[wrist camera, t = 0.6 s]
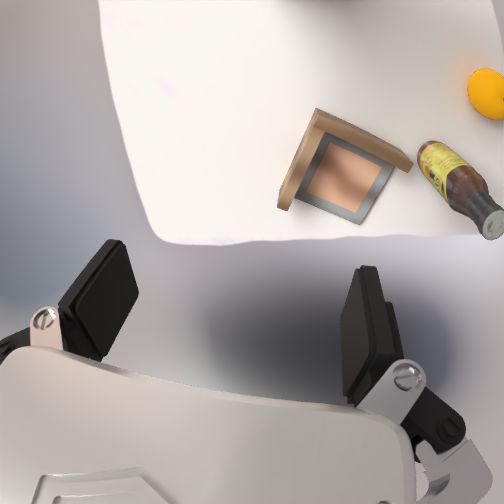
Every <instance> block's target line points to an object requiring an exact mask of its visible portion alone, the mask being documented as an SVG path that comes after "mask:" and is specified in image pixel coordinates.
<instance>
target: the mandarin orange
mask: <svg viewBox="0 0 504 504" xmlns="http://www.w3.org/2000/svg"><path fill="white" fill-rule="evenodd" d="M467 90H468V96H469V99H470V101H471V103H472V105H473V106H474V107H475V109H476V110H477V111H478V112H479V113H481V114H482V115H483V116H485V117H487V118H490V119H493V120H501V119H503V118H504V77H503V76H502V75H501V74H499V73H498V72H496V71H494V70H491V69H479V70H477V71H475V72H474V73H473V74H472V75H471V76H470V79H469V81H468V88H467Z"/></svg>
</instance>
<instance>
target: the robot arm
mask: <svg viewBox="0 0 504 504" xmlns="http://www.w3.org/2000/svg"><path fill="white" fill-rule="evenodd" d="M138 294H139V291H138V287H137V284H136V281H135V277H134V274H133V270H132V267H131V264H130V260H129V256H128V253H127V250H126V246H125V245H124V244H123V243H122V241H120V240H113V239H109V240H107V241H106V242H105V243H104V245H103V246H102V247H101V248H100V249H99V251H98V252H97V253H96V254H95V256H94V257H93V258H92V259H91V260H90V262H89V263H88V264H87V266H86V267H85V268H84V270H83V271H82V272H81V273H80V275H79V276H78V277H77V278H76V280H75V281H74V283H73V284H72V285H71V286H70V288H69V289H68V290H67V292H66V293H65V295H64V296H63V297H62V299H61V300H60V301H59V303H58V305H59V308H58V310H57V309H56V308H54V307H48V306H47V307H43V308H41V309H40V310H38V311H37V312H36V313H35V314H34V315H33V316H32V318H31V321H30V327H29V328H26V329H24V330H21V331H19V332H17V333H15V334H12V335H10V336H8V337H6V338H4V339H2V340H1V341H0V504H477V503H478V502H479V500H480V499H481V498H483V497H484V496H485V495H486V493H487V492H488V491H489V489H490V488H491V485H492V474H491V471H490V469H489V468H488V466H487V464H486V463H485V461H484V460H483V458H482V456H481V455H480V453H479V451H478V450H477V448H476V447H475V445H474V444H473V442H472V440H471V439H469V440H467V439H466V437H465V432H466V426H465V422H464V420H463V418H462V417H461V416H460V415H459V414H458V413H457V412H456V411H455V410H453V409H452V408H451V407H450V406H449V405H447V404H446V403H445V402H444V401H442V400H441V399H440V398H439V397H438V396H436V395H435V394H434V393H433V392H432V391H430V390H429V389H428V388H427V387H425V384H426V376H425V373H424V371H423V369H422V368H421V367H420V366H419V365H418V364H417V363H415V362H413V361H411V360H407V359H404V355H403V350H402V345H401V340H400V335H399V331H398V326H397V321H396V317H395V313H394V309H393V305H392V303H391V302H385V300H384V296H383V292H382V288H381V284H380V279H379V275H378V271H377V268H376V267H374V266H364V265H362V266H361V267H360V269H356V270H355V272H354V276H353V279H352V283H351V286H350V289H349V292H348V296H347V299H346V302H345V305H344V308H343V311H342V314H341V318H340V332H341V349H342V350H341V351H342V376H343V377H342V378H343V396H347V403H348V404H354V407H348V406H340V405H330V404H320V403H308V402H297V401H288V400H279V399H270V398H262V397H254V396H247V395H240V394H234V393H227V392H222V391H216V390H210V389H204V388H200V387H195V386H189V385H185V384H180V383H176V382H171V381H167V380H163V379H159V378H154V377H151V376H147V375H143V374H139V373H135V372H132V371H128V370H124V369H121V368H117V367H114V366H110V365H107V364H104V363H101V361H102V359H103V357H105V356H106V355H107V354H108V352H109V350H110V348H111V346H112V344H113V343H114V341H115V338H116V337H117V335H118V333H119V331H120V329H121V327H122V325H123V324H124V322H125V320H126V318H127V316H128V314H129V313H130V311H131V309H132V307H133V305H134V303H135V302H136V300H137V298H138ZM89 358H90V359H89ZM91 359H92V360H91ZM415 461H416V462H418V463H422V465H423V467H424V468H425V470H426V471H424V473H425V475H426V476H427V478H428V481H429V489H428V491H427V493H426V494H425V495H424V496H423V497H422V498H421V499H420V500H419V501H417V502H416V470H415ZM378 502H380V503H378Z"/></svg>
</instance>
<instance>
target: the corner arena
mask: <svg viewBox="0 0 504 504" xmlns="http://www.w3.org/2000/svg"><path fill="white" fill-rule="evenodd" d="M412 165H413V163H412V162H411V161H410V160H409V158H408V157H407V156H406V155H405V154H404V153H403V152H402V151H401V150H400V149H398V148H396V147H394V146H393V145H391V144H389V143H387V142H385V141H383V140H382V139H380V138H378V137H376V136H374V135H372V134H370V133H368V132H366V131H364V130H362V129H360V128H358V127H356V126H354V125H352V124H350V123H348V122H346V121H344V120H342V119H340V118H337V117H335V116H333V115H331V114H329V113H326V112H324V111H322V110H319V109H317V108H316V109H315V111H314V114H313V116H312V118H311V120H310V123H309V125H308V127H307V129H306V132H305V134H304V136H303V138H302V141H301V143H300V145H299V147H298V150H297V152H296V154H295V157H294V159H293V161H292V163H291V166H290V168H289V170H288V172H287V175H286V177H285V179H284V181H283V184H282V186H281V188H280V192H279V198H278V204H277V208H280V209H282V210H285V211H288V209H289V207H290V205H291V203H292V200H293V198H296V199H299V200H301V201H304V202H306V203H308V204H311V205H313V206H316V207H318V208H321V209H323V210H325V211H328V212H330V213H332V214H335V215H337V216H340V217H342V218H344V219H346V220H349V221H351V222H353V223H356V224H358V225H360V223H361V222H362V220H363V219H364V217H365V215H366V214H367V212H368V210H369V209H370V207H371V206H372V204H373V202H374V201H375V199H376V197H377V196H378V194H379V192H380V191H381V189H382V187H383V185H384V184H385V182H386V180H387V179H388V177H389V175H390V173H391V172H392V170H393V168H394V166H396V167H398V168H399V169H401V170H403V171H405V172H407V173H408V172H409V171H410V169H411V167H412Z"/></svg>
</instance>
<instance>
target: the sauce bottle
mask: <svg viewBox="0 0 504 504" xmlns="http://www.w3.org/2000/svg"><path fill="white" fill-rule="evenodd" d="M417 161H418V164H419V167H420V169H421V171H422V173H423V174H424V175H425V176H426V178H427V179H428V180H429V181H430V182H431V183H432V185H433V186H434V187H435V188H436V189H437V191H438V192H439V193H440V194H441V196H442V197H443V198H444V199H445V201H446V202H447V203H448V204H449V206H450V207H451V208H452V209H453V210H454V211H456V212H459V213H461V214H463V215H465V216H468V217H470V218H471V220H473V221H474V223H475V224H476V225H477V227H478V230H479V232H480V233H481V234H482V235H483V237H484V238H485V239H487V240H494V239H497V238H499V237H500V236H502V234H503V233H504V209H503V208H502V207H501V206H499V205H497V204H496V203H495V202H494V201H493V200H492V198H491V196H490V195H489V192H488V187H487V184H486V182H485V180H484V179H483V178H482V176H481V175H480V174H478V173H477V172H476V171H475V170H474V168H473V167H471V166H470V165H469V164H468V163H467V162H466V161H464V160H463V159H462V158H461V157H460V156H459V155H457V154H456V153H455V152H454V151H452V150H451V149H450V148H449V147H447V146H446V145H444V144H442V143H440V142H437V141H429V142H427V143H426V144H424V145H423V146H422V147H421V148H420V150H419V152H418V157H417Z"/></svg>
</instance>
